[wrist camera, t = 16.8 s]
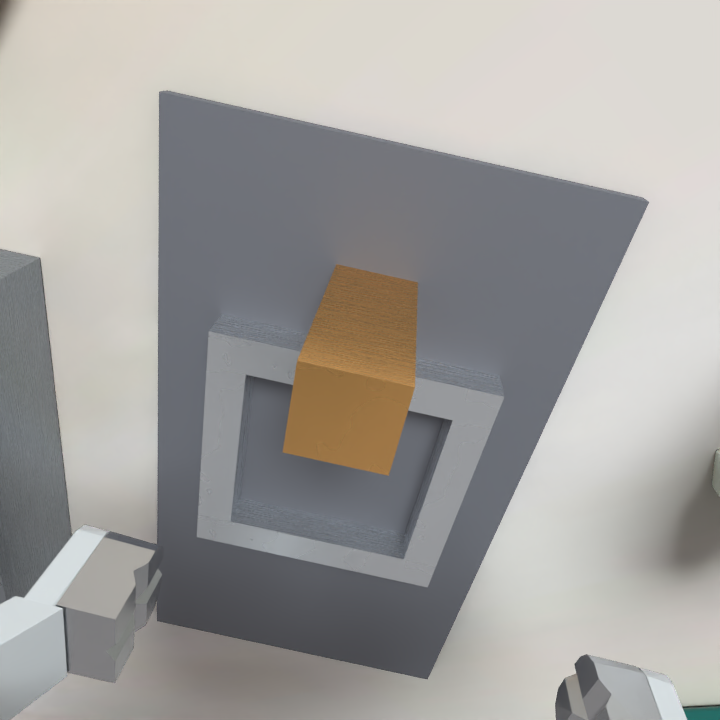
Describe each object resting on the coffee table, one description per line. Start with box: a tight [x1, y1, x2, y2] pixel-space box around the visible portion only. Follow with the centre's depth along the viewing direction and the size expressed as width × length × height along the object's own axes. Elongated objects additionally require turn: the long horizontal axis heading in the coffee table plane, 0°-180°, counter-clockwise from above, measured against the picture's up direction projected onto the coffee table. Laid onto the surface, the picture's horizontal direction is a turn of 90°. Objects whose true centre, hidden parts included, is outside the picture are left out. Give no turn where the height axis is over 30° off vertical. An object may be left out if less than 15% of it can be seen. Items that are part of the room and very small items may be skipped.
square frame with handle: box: [197, 264, 504, 587], centre depth 20 cm, size 14×11×7 cm
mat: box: [157, 91, 649, 679], centre depth 25 cm, size 28×16×1 cm, turn 169°
